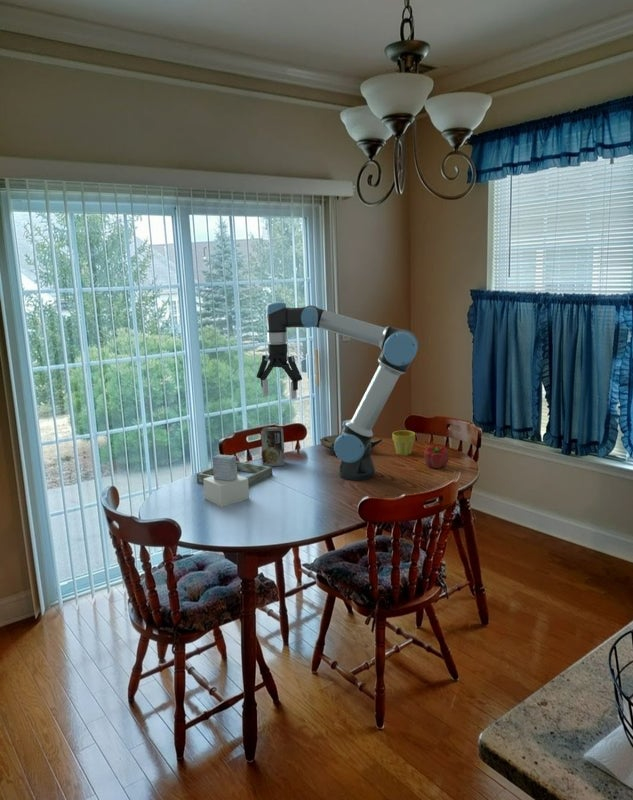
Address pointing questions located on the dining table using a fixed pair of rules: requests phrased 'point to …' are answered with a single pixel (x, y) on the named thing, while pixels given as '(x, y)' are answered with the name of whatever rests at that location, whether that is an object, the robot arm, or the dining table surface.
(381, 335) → the robot arm
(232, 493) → the riser block
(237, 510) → the dining table surface
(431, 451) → the vegetable
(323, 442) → the olive brown bowl
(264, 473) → the bowl tray frame
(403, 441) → the plant pot
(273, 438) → the coffee box
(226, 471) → the medicine box
